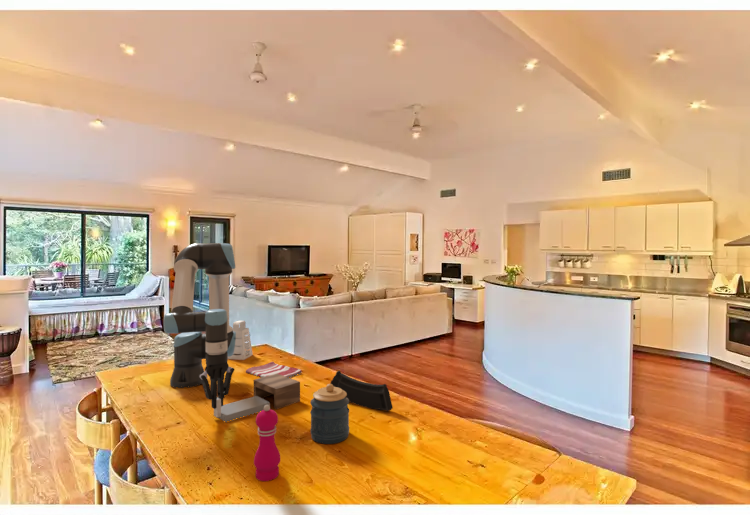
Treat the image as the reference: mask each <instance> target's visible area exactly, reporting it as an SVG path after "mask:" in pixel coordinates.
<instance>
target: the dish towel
mask: <svg viewBox="0 0 750 515" xmlns="http://www.w3.org/2000/svg"><path fill="white" fill-rule="evenodd" d="M302 372H303V371H302V369H299V368H297V367H296V368H295V367H289V366H287V365H282V364H281V365H280V364H278V363H276V362H274V361H270V362H267V363H266V364H263V365H257V366H251V367H249V368H247V369H246V370H245V373H247V374H249V373H250V375H252V374H253V375H252V376H255V375H256V376H255V377H258V376H259V377H258V378H262V377H266V376H270V375H273V374H280V375H282V376H285V377H288V378H289V377H290V378H293V377H295V376H294V375H296V376H298V375H297V374H299V375H301V374H300V373H302ZM292 376H293V377H292Z"/></svg>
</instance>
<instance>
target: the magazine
mask: <svg viewBox="0 0 750 515" xmlns="http://www.w3.org/2000/svg"><path fill="white" fill-rule="evenodd" d="M329 384H332V385H333V386H334V387H338V388H341V389H342V390H344V391H345V392H346V393H347V396H346V397H347V398H348V399H349V403H351V404H354V405H357V406H360V407H364V408H367V409H375V410H381V411H382V410H383V411H387V412H389V411H392V409H393V407H394V406H393V404H392V399H391V394H390V390H389V388H388V385H387V383H384V384H377V383H369V382H365V381H361V380H357V379H354V378H352V377H350V376H349V375H346V374H345V373H342V372H341V371H340V370H338V371H336V373H335V374H334V376H333V377H332V380H330V383H329Z"/></svg>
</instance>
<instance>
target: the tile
mask: <svg viewBox="0 0 750 515" xmlns="http://www.w3.org/2000/svg"><path fill="white" fill-rule="evenodd" d="M265 405H269V406H270V407H271V403H270V401H268V400H266V399H264V398H261V397H259V396H254V395H253V396H252V397H247V398H243V399H241V400H237V401H233V402H230V403H226V404H223V406H221V417H218V419H220V420H221V421H223V422H224V421H225V422H226V423H228V422H227V421H229V422H231V421H230V420H232V421H234V420H233V419H235V420H237V419H236V418H239V419H241V418H240V417H242V418H244V417H243V416H245V417H248V416H251V415H250V414H252V415H254V413H255V414H258V413H259V412H260V411H262V410H264V406H265ZM257 412H258V413H257ZM247 415H248V416H247ZM225 422H224V423H225Z"/></svg>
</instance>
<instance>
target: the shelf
mask: <svg viewBox="0 0 750 515" xmlns="http://www.w3.org/2000/svg"><path fill="white" fill-rule="evenodd" d="M272 395H273V398H274V399H273V405H274V406H273V408H274V410H279V409H282V408H285V407H288V406H290V405H293V404H295V403H299V402H301V381H299V380H295V379H293V378H292V377H290V378H288V377H285V376H282V375H280V374H273V375H270V376H266V377H258V378H256V379H253V397H254V396H259V397H261V398H262V399H264V398H266V397H269V396H272Z"/></svg>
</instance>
